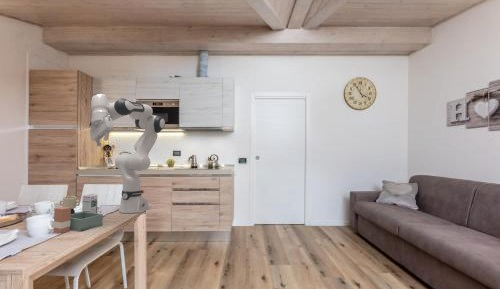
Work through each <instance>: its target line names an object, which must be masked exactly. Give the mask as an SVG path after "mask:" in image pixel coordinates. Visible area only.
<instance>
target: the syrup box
mask: <svg viewBox="0 0 500 289" xmlns="http://www.w3.org/2000/svg"><path fill="white" fill-rule="evenodd" d="M98 197H99V196H98V194H95V193H89V194H85V195H82V205H81V206H82V207H81V210H82V211H81V212H90V213H98Z"/></svg>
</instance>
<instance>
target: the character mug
mask: <svg viewBox="0 0 500 289" xmlns="http://www.w3.org/2000/svg"><path fill="white" fill-rule="evenodd" d="M80 203H81V202H80V200H79V199H78V197H77V196H64V197H62V199H60V200H59V206H60V207H70V208H71V214H75V208H77V207H79V206H80Z"/></svg>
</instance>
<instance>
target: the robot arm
mask: <svg viewBox="0 0 500 289" xmlns="http://www.w3.org/2000/svg"><path fill="white" fill-rule="evenodd" d="M90 103H91V104H90V107H91V120H90V122H89V124H88V128H89V129H90V130H89V132H90V140H91V141H92V142H95V144H96V147H101V146H102V143H101V142H100V141H101V139H103V141H108V140H109V136H110V132H111V131H112V130H113V129H114V124H113V121H116V120H118V119H120V118H122V117H125V116H129V117H130V118H131V119H132V120H134V123H135V126H136V127H137V128H138V129H141V130H144V132H143V133H142V134H141V136H140V137H139V138H138V139H137V140H136V142H135V143H134V145H133V148H134V151H135V153H122V154H118V155H117V156H115V159H114V164H115V167H116V168H117V169H119V172H120V173H121V178H122V191H121V199H120V206H119V208H118V212H119V213H122V214H137V213H138V214H140V213H144V212H146V211H149V210H151V209H152V206H150V205H149V202H148V199H147V198H146V197H144V196H143V195H142V194H144V193H145V189H144V190H143V189H142V190H141V178H140V177H139V176H138V175H137V173H136V171H137V172H138V171H146V170H148V169H149V168H150V166H151V159H150V157H149V154H150V152H151V150H152V149H153V147H154V145H155V144H156V142H157V140H158V136H159V135H158V134H159V133H160V132H161V131H163V129H164V128H165V126H166V120H165V118H164V117H163V116H160V115H154V114H153V112H154V111H153V108H152V107H151V105H149V104H145V103H141V102H136V101H135V102H134V101H132V100H131V101H130V100H128V99H126V98H119V99H117V100H116V101H114V102H111V101H110V100H109V99H108V98H107V95H106V94H104V93H98V94H95V95H93V96H92V97H91V101H90Z"/></svg>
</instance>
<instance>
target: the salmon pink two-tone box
mask: <svg viewBox="0 0 500 289" xmlns="http://www.w3.org/2000/svg"><path fill="white" fill-rule="evenodd" d="M53 210H54V211H53V212H54V213H53V231H52V232H53V233H55V234H60V233H61V234H65V233H69V232H70V231H71V230H70V221H71V220H70V218H71V208H70V207H62V206H60V207H56V208H54V209H53Z"/></svg>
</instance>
